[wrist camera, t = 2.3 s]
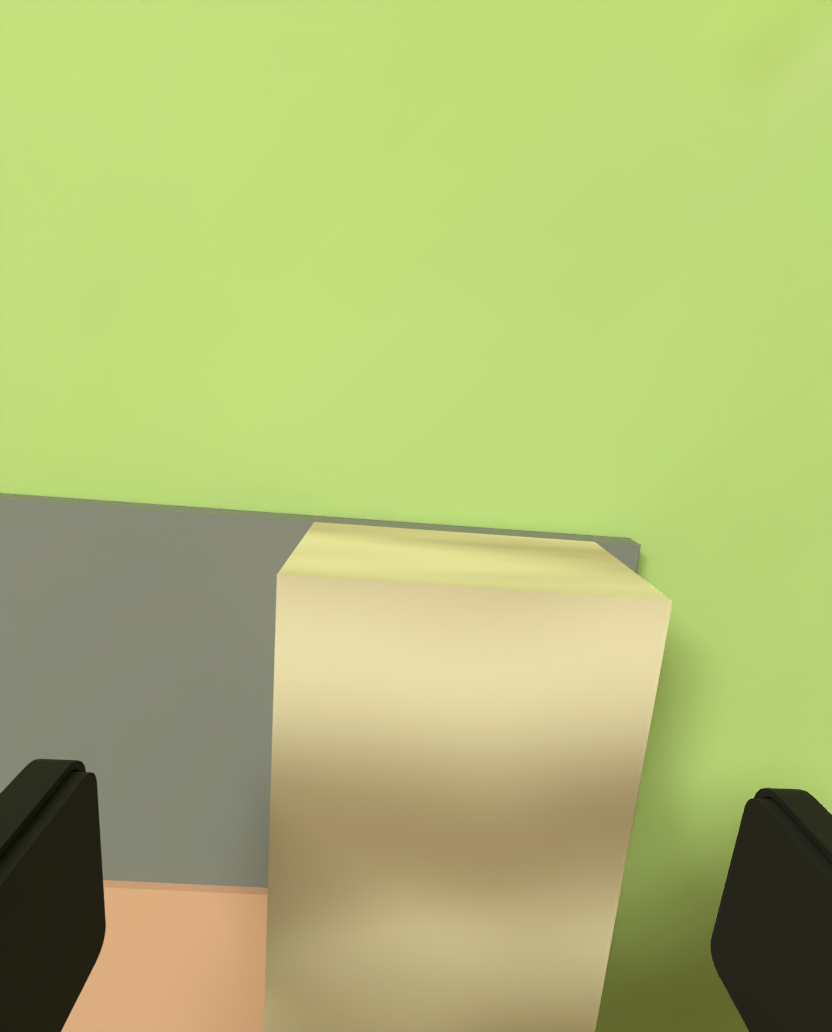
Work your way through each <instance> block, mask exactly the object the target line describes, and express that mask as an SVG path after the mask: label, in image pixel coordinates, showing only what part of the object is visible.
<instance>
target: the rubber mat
mask: <svg viewBox="0 0 832 1032" xmlns="http://www.w3.org/2000/svg"><path fill="white" fill-rule="evenodd" d="M314 522H322V523H336V524H350V525H364V526H378V527H392V528H407V529H421V530H435V531H449V532H463V533H477V534H491V535H505V536H519V537H533V538H547V539H561V540H575V541H589V542H596V543H597V544H598V545H600V546H601V547H602V548H604V549H605V550H606V551H607V552H609V553H610V554H611V555H613V556H614V557H615V558H617V559H618V560H619V561H621V562H622V563H623V564H625V565H626V566H627V567H628V568H630V569H631V570H632V571H634V572H635V573H636V571H637V564H638V558H639V552H640V546H641V545H640V544H638V543H636V542H635V541H633V540H632V539H630V538H619V537H605V536H591V535H577V534H563V533H549V532H535V531H521V530H507V529H493V528H479V527H465V526H451V525H437V524H423V523H409V522H395V521H381V520H367V519H353V518H339V517H325V516H311V515H297V514H283V513H269V512H255V511H241V510H227V509H213V508H199V507H185V506H171V505H157V504H143V503H129V502H115V501H101V500H87V499H73V498H59V497H45V496H31V495H17V494H3V493H0V793H1V792H2V791H3V790H4V789H5V788H6V787H7V786H8V785H9V784H10V782H11V781H12V780H13V779H14V778H15V777H16V776H17V775H18V774H19V773H20V772H21V771H22V770H23V769H24V768H25V767H26V766H27V765H28V764H29V763H30V762H31V761H33V760H36V759H59V760H79V761H82V762H83V764H84V765H85V769H86V772H92V773H94V774H95V776H96V779H97V790H98V807H99V823H100V839H101V855H102V871H103V887H104V903H105V919H106V931H105V938H104V942H103V946H102V949H101V952H100V955H99V957H98V959H97V961H96V963H95V965H94V967H93V969H92V971H91V973H90V975H89V977H88V979H87V981H86V983H85V985H84V987H83V989H82V991H81V993H80V995H79V997H78V999H77V1001H76V1003H75V1005H74V1007H73V1009H72V1011H71V1013H70V1015H69V1017H68V1019H67V1021H66V1023H65V1025H64V1027H63V1029H62V1031H61V1032H264V1004H265V969H266V934H267V900H268V865H269V830H270V796H271V761H272V727H273V692H274V657H275V623H276V588H277V574H278V572H279V571H280V570H281V568H282V567H283V565H284V564H285V562H286V561H287V560H288V558H289V557H290V555H291V554H292V553H293V551H294V550H295V548H296V547H297V546H298V544H299V543H300V541H301V540H302V539H303V537H304V536H305V534H306V533H307V531H308V530H309V529H310V527H311V526H312V524H313V523H314Z"/></svg>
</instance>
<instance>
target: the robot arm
mask: <svg viewBox="0 0 832 1032" xmlns="http://www.w3.org/2000/svg"><path fill="white" fill-rule="evenodd" d="M105 931H106V919H105V903H104V887H103V871H102V855H101V839H100V823H99V807H98V790H97V779H96V776H95V774H94V773H92V772H86V769H85V765H84V764H83V762H82V761H79V760H59V759H36V760H33V761H31V762H30V763H29V764H28V765H27V766H26V767H25V768H24V769H23V770H22V771H21V772H20V773H19V774H18V775H17V776H16V777H15V778H14V779H13V780H12V781H11V782H10V784H9V785H8V786H7V787H6V788H5V789H4V790H3V791H2V792H1V793H0V1032H61V1031H62V1029H63V1027H64V1025H65V1023H66V1021H67V1019H68V1017H69V1015H70V1013H71V1011H72V1009H73V1007H74V1005H75V1003H76V1001H77V999H78V997H79V995H80V993H81V991H82V989H83V987H84V985H85V983H86V981H87V979H88V977H89V975H90V973H91V971H92V969H93V967H94V965H95V963H96V961H97V959H98V957H99V955H100V952H101V949H102V946H103V942H104V938H105ZM711 954H712V959H713V962H714V965H715V968H716V970H717V973H718V975H719V977H720V978H721V980H722V982H723V984H724V986H725V988H726V989H727V991H728V993H729V995H730V997H731V999H732V1000H733V1002H734V1004H735V1006H736V1008H737V1010H738V1011H739V1013H740V1015H741V1017H742V1019H743V1021H744V1022H745V1024H746V1026H747V1028H748V1030H749V1032H832V815H831V814H830V813H829V812H828V811H827V810H826V809H825V808H824V807H823V806H822V805H821V804H820V803H819V802H818V801H817V800H816V799H815V798H814V797H813V796H812V795H810V794H809V793H808V792H806V791H803V790H799V789H774V788H764V789H760V790H759V791H758V792H757V793H756V795H755V797H754V799H750V800H748V801H747V803H746V805H745V808H744V812H743V816H742V820H741V824H740V828H739V832H738V836H737V840H736V844H735V848H734V852H733V856H732V859H731V863H730V867H729V871H728V875H727V879H726V883H725V887H724V891H723V895H722V899H721V903H720V907H719V911H718V915H717V919H716V923H715V926H714V930H713V934H712V938H711Z"/></svg>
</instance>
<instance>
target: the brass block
mask: <svg viewBox="0 0 832 1032" xmlns="http://www.w3.org/2000/svg"><path fill="white" fill-rule="evenodd" d="M672 603H673V601H672V600H670V599H669V598H668V597H666V596H665V595H664V594H663V593H661V592H660V591H659V590H657V589H656V588H655V587H653V586H652V585H651V584H649V583H648V582H647V581H645V580H644V579H643V578H642V577H640V576H639V575H638V574H636V573H635V572H634V571H632V570H631V569H630V568H628V567H627V566H626V565H625V564H623V563H622V562H621V561H619V560H618V559H617V558H615V557H614V556H613V555H611V554H610V553H609V552H607V551H606V550H605V549H604V548H602V547H601V546H600V545H598V544H597V543H596V542H589V541H575V540H561V539H547V538H533V537H519V536H505V535H491V534H477V533H463V532H449V531H435V530H421V529H407V528H392V527H378V526H364V525H350V524H336V523H322V522H314V523H313V524H312V526H311V527H310V529H309V530H308V531H307V533H306V534H305V536H304V537H303V539H302V540H301V541H300V543H299V544H298V546H297V547H296V548H295V550H294V551H293V553H292V554H291V555H290V557H289V558H288V560H287V561H286V562H285V564H284V565H283V567H282V568H281V570H280V571H279V572H278V574H277V588H276V623H275V657H274V692H273V727H272V761H271V796H270V830H269V865H268V900H267V934H266V969H265V1004H264V1032H595V1030H596V1024H597V1018H598V1013H599V1007H600V1002H601V996H602V991H603V985H604V980H605V974H606V969H607V963H608V958H609V952H610V946H611V941H612V935H613V930H614V924H615V919H616V913H617V908H618V902H619V897H620V891H621V885H622V880H623V874H624V869H625V863H626V858H627V852H628V847H629V841H630V836H631V830H632V825H633V819H634V813H635V808H636V802H637V797H638V791H639V786H640V780H641V775H642V769H643V764H644V758H645V753H646V747H647V741H648V736H649V730H650V725H651V719H652V714H653V708H654V703H655V697H656V692H657V686H658V681H659V675H660V669H661V664H662V658H663V653H664V647H665V642H666V636H667V631H668V625H669V620H670V614H671V609H672Z"/></svg>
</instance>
